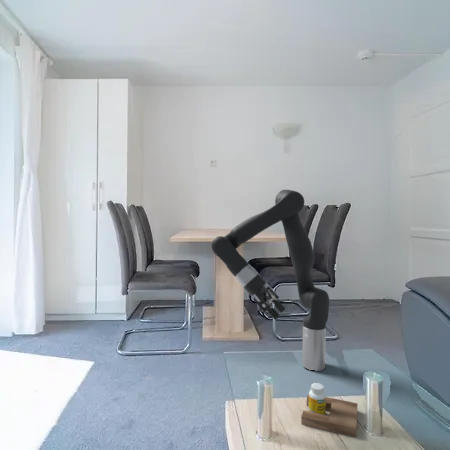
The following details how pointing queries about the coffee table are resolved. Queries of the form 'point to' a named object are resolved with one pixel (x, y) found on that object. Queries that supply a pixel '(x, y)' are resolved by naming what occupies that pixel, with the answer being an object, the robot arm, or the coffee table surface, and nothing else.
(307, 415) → the notched board
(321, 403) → the supplement bottle
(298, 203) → the robot arm
